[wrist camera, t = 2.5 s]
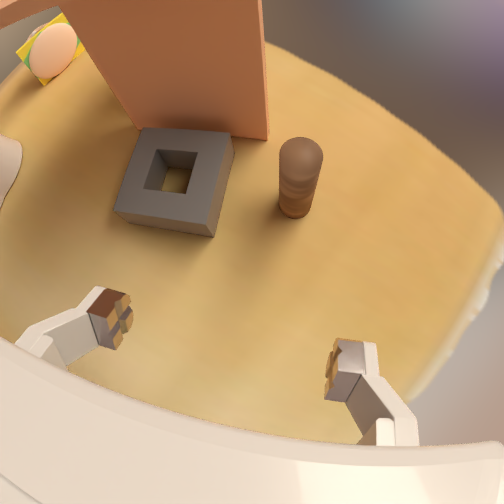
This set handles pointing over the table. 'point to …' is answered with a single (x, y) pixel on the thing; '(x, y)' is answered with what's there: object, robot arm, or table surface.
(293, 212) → the peg
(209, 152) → the socket
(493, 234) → the table surface
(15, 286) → the table surface
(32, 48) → the hamburger
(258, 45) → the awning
